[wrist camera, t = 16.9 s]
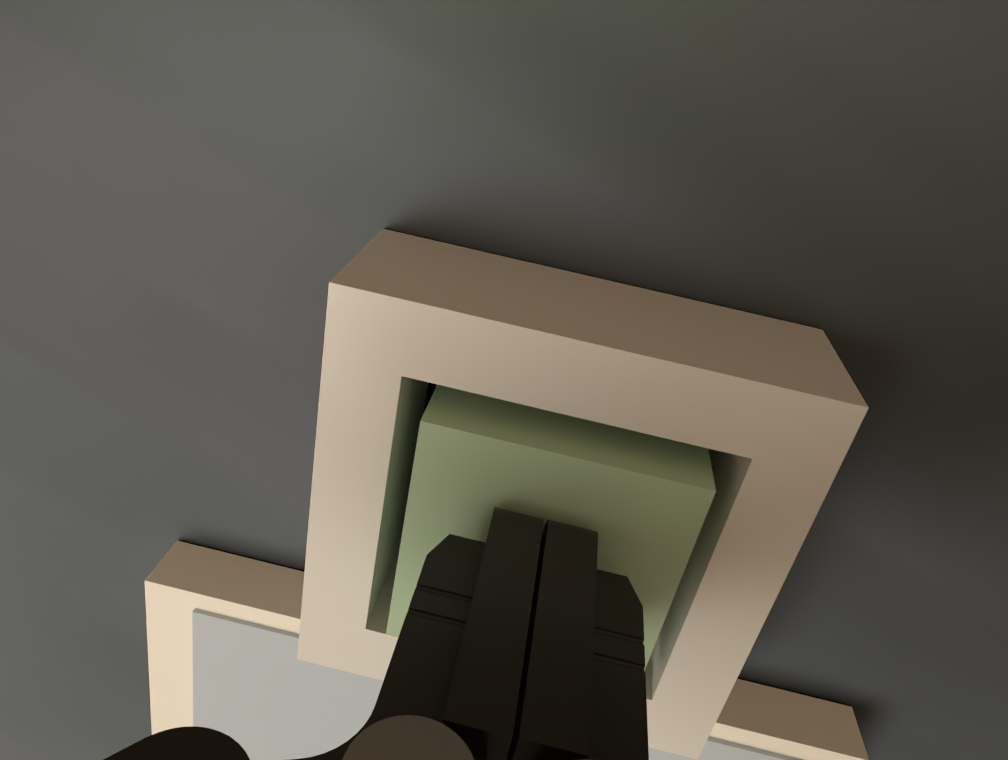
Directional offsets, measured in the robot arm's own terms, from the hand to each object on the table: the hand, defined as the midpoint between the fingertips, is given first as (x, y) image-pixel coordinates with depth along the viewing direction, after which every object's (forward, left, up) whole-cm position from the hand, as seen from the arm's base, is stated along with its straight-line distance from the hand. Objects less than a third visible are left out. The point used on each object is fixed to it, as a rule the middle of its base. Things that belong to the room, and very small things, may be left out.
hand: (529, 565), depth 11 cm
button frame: (0, 0, -3) cm, 3 cm away
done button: (0, 0, -2) cm, 2 cm away
